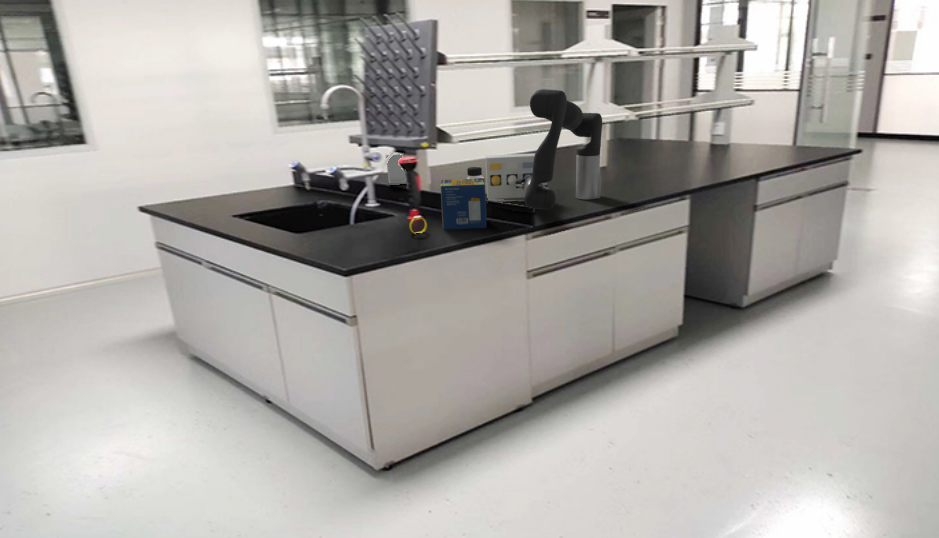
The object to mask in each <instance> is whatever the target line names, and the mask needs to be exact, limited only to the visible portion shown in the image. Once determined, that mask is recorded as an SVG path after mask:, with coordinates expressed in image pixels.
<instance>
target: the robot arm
mask: <svg viewBox="0 0 939 538" xmlns="http://www.w3.org/2000/svg"><path fill="white" fill-rule="evenodd" d="M567 98H568V97H567V95H566V93H565V92H564V91H563V90H558V89H557V90H556V89H546V88H545V89H544V88H542V89H536V90H535V91H534V92H533V93H532V95H531V97H530V100H529V107H530V108H529V109H530V111H531V113H532V114H533V115H534V117H536V118H541V119H546V120H547V121H550V122H551V125H550V128H549V131H548V133H547V134H546V136H545V137H544V139H543V140H542V142H541V143H540V144H539V146H538V147H537V149H536V151H535V152H534V153H535V156H534V163H533V172H532V177H527V178H526V180H525V179H522V180H519V181H516V182H515V183H516V184H515V185H516V188H522V189H523V190H524V192H525V194H526V195H525V199H524V201H523V202H524V204H525V206H526V208H528V207H532V208H534V209H535V210H551V209H552V208H554V206H555V205H556V202H557V197H556V193H555V191H554V190H553V189H552V188H550V187H548V186H549V184H548V183H549V182H551V181H552V180H553V179H554V178H553V177H554V169H555V160H556V153H557V149H558V144H559V141H560V137H561V134H562V128H563V129H565V130H567V131H570V132H571V133H572V134H573V135H574V136H577V137H579V138H590V141H589V142H587V143H586V144H583V145H580V146H578V147H577V148H576V166H575V167H576V168H575V169H576V170H575V171H576V172H575V173H576V174H575V175H576V176H575V197H576V198H577V199H580V200H596V199H601V189H602V187H601V185H602V181H601V180H602V175H601V174H602V173H600V171H601V147H602V135H603V134H602V133H603V117H602V115H601V113H599V112H583V111H582V109H581V107H580V106H579V105H578V104H576V103H574V102H572V101H569V100H567Z"/></svg>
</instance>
